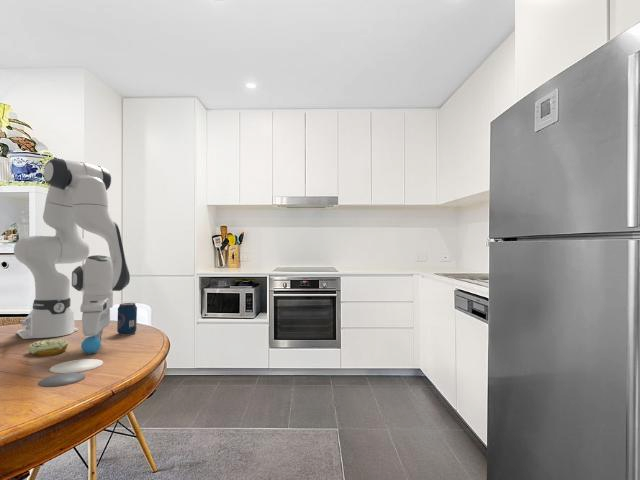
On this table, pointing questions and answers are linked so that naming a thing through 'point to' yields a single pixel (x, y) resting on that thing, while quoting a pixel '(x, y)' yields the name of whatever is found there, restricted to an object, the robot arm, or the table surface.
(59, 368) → the disc
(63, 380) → the disc
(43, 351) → the decorated donut
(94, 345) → the ball
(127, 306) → the soda can
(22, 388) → the table surface
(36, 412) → the table surface
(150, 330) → the table surface
